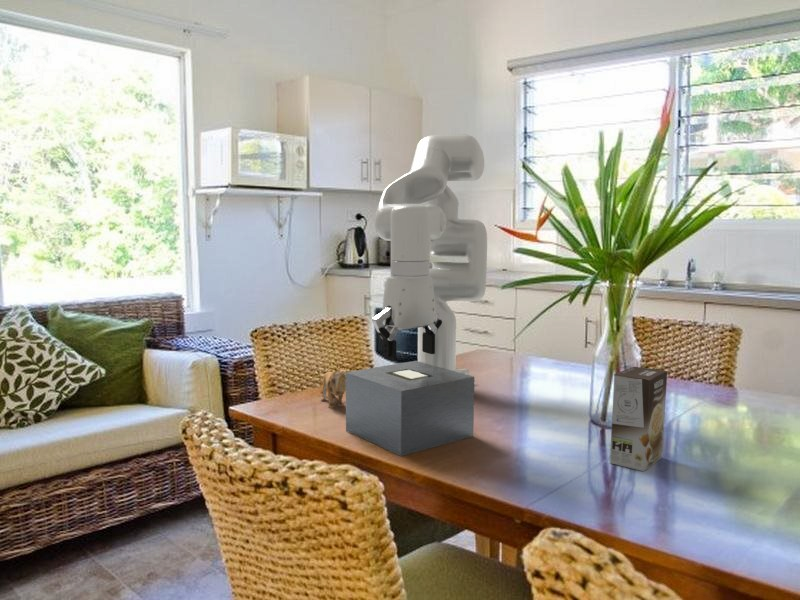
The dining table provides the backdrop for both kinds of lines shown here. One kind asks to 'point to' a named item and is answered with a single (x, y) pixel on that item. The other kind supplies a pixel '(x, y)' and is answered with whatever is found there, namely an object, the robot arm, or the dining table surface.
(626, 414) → the coffee box
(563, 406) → the dining table surface
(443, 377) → the box
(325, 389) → the tan spotted animal figure
